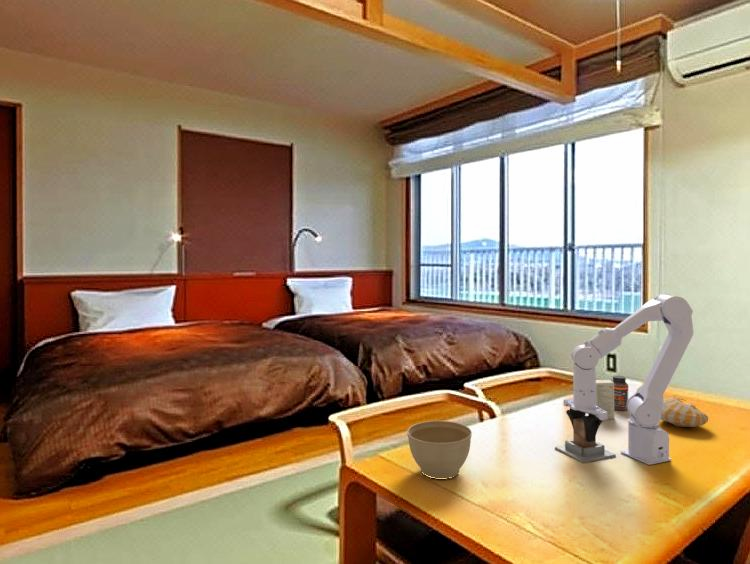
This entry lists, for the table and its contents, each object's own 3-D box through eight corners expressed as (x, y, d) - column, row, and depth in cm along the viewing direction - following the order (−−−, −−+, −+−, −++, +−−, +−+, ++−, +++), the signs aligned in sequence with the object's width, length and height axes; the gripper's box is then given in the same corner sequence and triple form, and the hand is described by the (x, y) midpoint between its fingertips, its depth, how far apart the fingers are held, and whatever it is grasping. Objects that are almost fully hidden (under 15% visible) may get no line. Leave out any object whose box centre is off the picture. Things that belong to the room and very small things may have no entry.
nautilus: (659, 412, 180) (710, 421, 171) (648, 425, 162) (705, 437, 153) (660, 389, 179) (712, 398, 171) (650, 400, 162) (707, 410, 153)
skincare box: (610, 415, 176) (610, 379, 175) (614, 419, 171) (615, 382, 171) (590, 414, 176) (590, 379, 176) (595, 419, 172) (595, 382, 171)
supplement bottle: (610, 410, 181) (610, 378, 180) (608, 405, 186) (608, 374, 186) (629, 411, 179) (629, 379, 178) (626, 406, 185) (626, 375, 184)
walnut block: (595, 446, 142) (595, 421, 142) (583, 448, 141) (583, 423, 141) (585, 441, 146) (584, 417, 146) (573, 443, 145) (573, 419, 144)
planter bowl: (398, 466, 138) (397, 425, 137) (452, 456, 143) (451, 417, 143) (425, 491, 122) (424, 446, 122) (484, 479, 128) (484, 436, 128)
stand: (615, 456, 141) (615, 447, 140) (583, 463, 137) (583, 453, 137) (586, 443, 151) (586, 434, 151) (554, 448, 147) (554, 439, 147)
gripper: (554, 385, 148) (555, 432, 149) (592, 397, 135) (592, 449, 135) (574, 382, 151) (574, 428, 151) (613, 394, 137) (613, 445, 138)
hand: (584, 438), depth 144 cm, fingers closed on walnut block, 4 cm apart
